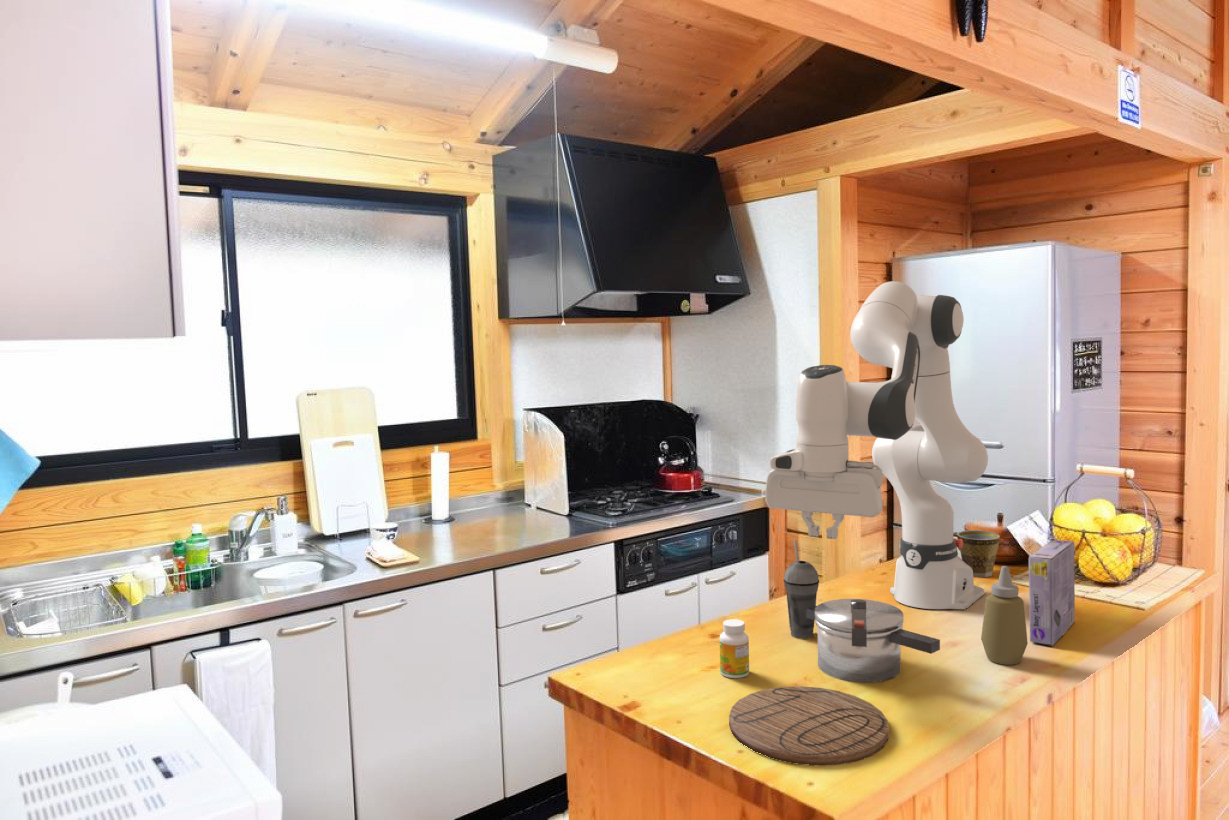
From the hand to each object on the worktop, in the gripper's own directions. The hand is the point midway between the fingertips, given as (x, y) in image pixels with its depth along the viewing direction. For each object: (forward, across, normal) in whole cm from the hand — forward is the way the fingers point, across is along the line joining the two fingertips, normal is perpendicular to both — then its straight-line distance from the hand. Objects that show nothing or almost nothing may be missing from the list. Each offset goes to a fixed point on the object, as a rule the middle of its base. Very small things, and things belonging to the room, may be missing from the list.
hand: (822, 537), depth 157 cm
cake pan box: (+28, -32, -48) cm, 64 cm away
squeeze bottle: (+27, -26, -27) cm, 46 cm away
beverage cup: (+27, +13, -23) cm, 38 cm away
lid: (+18, -4, -7) cm, 20 cm away
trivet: (+28, -3, +17) cm, 33 cm away
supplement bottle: (+27, +16, +2) cm, 32 cm away
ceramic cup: (+27, -10, -85) cm, 90 cm away
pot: (+27, -5, -11) cm, 30 cm away
